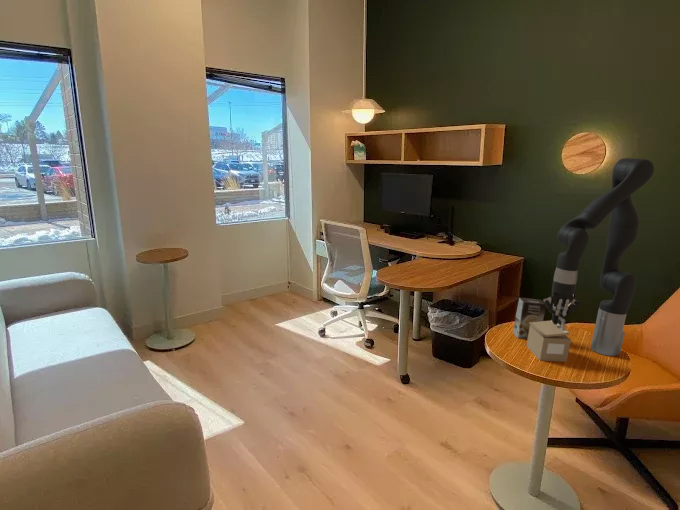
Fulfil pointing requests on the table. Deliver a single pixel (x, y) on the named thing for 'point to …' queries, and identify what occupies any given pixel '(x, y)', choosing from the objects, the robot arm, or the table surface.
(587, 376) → the table surface
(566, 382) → the table surface
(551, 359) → the carton
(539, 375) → the table surface
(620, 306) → the robot arm
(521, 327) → the coffee box
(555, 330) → the flap
